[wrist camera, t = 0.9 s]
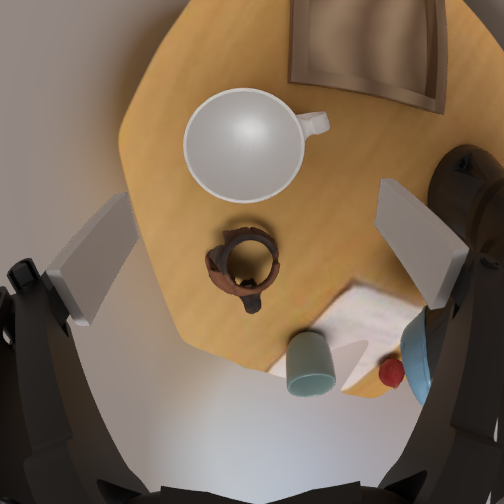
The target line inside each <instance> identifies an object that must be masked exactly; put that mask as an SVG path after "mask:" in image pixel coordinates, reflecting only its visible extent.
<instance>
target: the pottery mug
mask: <svg viewBox="0 0 504 504" xmlns="http://www.w3.org/2000/svg"><path fill="white" fill-rule="evenodd" d="M223 234H224V239H225V245H219V246H216V247H215V248H214V249H211V250H210V253H209V254H207V255H206V257H205V263H206V266H207V269H208V271H209V277H210V278H211V280H212V282H213V283H214V284H215V285H216V286H217V287H219V288H220V289H221V290H223V291H224V292H226V293H228V294H234V295H235V296H238V297H239V298H240V299H241V300H242V302H243V304H244V307H245V310H246V312H247V313H249V314H254V313H256V312H258V311H259V310H260V309H261V299H260V295H261V292H262V291H263V290H265V289H266V288H268V287H269V286H270V285H271V284H272V283H273V282H274V280H275V279H276V277H277V275H278V273H279V268H280V263H279V262H278V256H279V253H278V248H277V245H276V243H275V241H274V239H273V238H272V237H271V236H270V235H268V234H267V233H266V232H264V231H262V230H260V229H257V228H255V227H251V228H250V229H249V228H248V227H243V228H239V229H236V230H230V231H223ZM247 240H254V241H258V242H261V243H263V244H264V245H265V246H266V247H267V248H268V249H269V251H270V252H271V254H272V257H273V263H272V268H271V271H270V274H269V275H268V277H267V278H266V279H265V280H264V281H263V282H262V283H260V284H259V285H257V283H256V282H255V280H254V279H253V278H252V279H248V280H243V281H242V283H240V285H238V284H237V283H236V281H235V277H234V276H230V275H229V273H228V270H227V260H228V257H229V254H230V252H231V251H232V249H233V248H234V247H235V246H236V245H238V244H240V243H241V242H243V241H247ZM210 258H211V259H212V260H213V262H214V264H215V265H216V266H217V267H218V268H219V270H220V271H216V270H215V269H214V268H213V266H212V264H211V261H210Z"/></svg>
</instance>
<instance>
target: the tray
mask: <svg viewBox="0 0 504 504" xmlns="http://www.w3.org/2000/svg"><path fill="white" fill-rule="evenodd" d="M447 61H448V45H447V22H446V10H445V1H444V0H290V36H289V64H288V83H289V84H300V85H310V86H318V87H325V88H332V89H338V90H344V91H350V92H355V93H360V94H365V95H370V96H375V97H379V98H383V99H387V100H391V101H395V102H399V103H402V104H406V105H409V106H413V107H416V108H419V109H423V110H426V111H429V112H434V113H438V114H442V115H444V109H445V99H446V86H447Z"/></svg>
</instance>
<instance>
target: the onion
mask: <svg viewBox="0 0 504 504" xmlns="http://www.w3.org/2000/svg"><path fill="white" fill-rule="evenodd" d="M404 375H405V371H404V367H403V364H402V362H401V361H399V360H397V359H390V358H387V359H386V360H385V361H384V363H383V364H382V365H381V367H380V369H379V378H380V380H381V381H382V383H383V384H385V385H387V386H389V387H393V388H394V389H397V387H398V386H399V384H400V383H401V382H402V380H403V378H404Z"/></svg>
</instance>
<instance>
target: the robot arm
mask: <svg viewBox="0 0 504 504" xmlns="http://www.w3.org/2000/svg"><path fill="white" fill-rule="evenodd" d="M374 225H375V227H376V228H377V229H378V231H379V232H380V233H381V235H382V236H383V237H384V239H385V240H386V242H387V243H388V244H389V246H390V247H391V249H392V250H393V252H394V253H395V255H396V256H397V257H398V259H399V260H400V262H401V263H402V265H403V266H404V268H405V269H406V271H407V272H408V274H409V276H410V277H411V279H412V280H413V282H414V283H415V285H416V287H417V288H418V290H419V292H420V293H421V295H422V296H423V298H424V300H425V302H426V303H427V306H425V307H424V308H423V309H422V312H421V313H420V314H419V315H418V316H417V317H416V318H415V319H414V320H413V321H412V322H410V323H409V324H408V325H407V327H406V328H405V329H404V331H403V334H402V337H401V344H400V348H401V358H402V363H403V367H404V371H405V374H406V377H407V380H408V382H409V385H410V387H411V389H412V391H413V393H414V395H415V397H416V398H417V400H418V401H419V403H420V404H421V405H423V409H422V411H421V414H420V416H419V418H418V421H417V423H416V426H415V428H414V430H413V432H412V434H411V437H410V439H409V441H408V443H407V445H406V447H405V449H404V451H403V453H402V455H401V456H400V458H399V459H398V461H397V462H396V463H395V464H394V466H393V467H392V468H391V469H390V470H389V471H388V472H387V474H386V475H385V477H384V478H383V480H382V481H381V483H380V484H379V486H378V487H377V488H376V487H366V486H361V485H360V481H357V482H353V483H348V484H343V485H339V486H333V487H327V488H320V489H313V490H310V491H307V492H304V493H301V494H298V495H295V496H292V497H288V498H285V499H282V500H278V501H275V502H270V503H267V504H486V502H487V499H488V496H489V494H490V492H491V499H490V501H491V502H490V504H504V168H503V167H502V166H501V165H500V163H499V162H498V161H497V160H496V159H495V158H494V157H493V156H492V155H491V154H490V153H488V152H487V151H485V150H483V149H481V148H479V147H476V146H473V145H463V146H460V147H457V148H455V149H454V150H452V151H451V152H450V153H448V154H447V155H446V156H445V157H444V158H443V160H442V161H441V162H440V164H439V165H438V167H437V169H436V171H435V173H434V175H433V178H432V181H431V184H430V188H429V194H428V207H427V206H425V205H424V204H423V203H422V202H421V201H420V200H419V199H418V198H416V197H415V196H414V195H413V194H412V193H410V192H409V191H408V190H407V189H406V188H404V187H403V186H402V185H401V184H400V183H398V182H397V181H396V180H395V179H391V178H381V183H380V190H379V198H378V205H377V211H376V218H375V224H374ZM138 239H139V235H138V231H137V228H136V225H135V221H134V217H133V213H132V210H131V206H130V202H129V198H128V194H127V192H125V193H119V194H115V195H114V196H113V197H112V198H110V199H109V200H108V201H107V202H106V203H105V204H104V205H103V206H102V207H101V208H100V209H99V211H97V212H96V213H95V214H94V215H93V216H92V217H91V219H90V220H89V221H88V222H87V223H86V224H85V225H84V226H83V227H82V228H81V229H80V230H79V231H78V233H77V234H76V235H75V236H74V237H73V238H72V239H71V240H70V241H69V243H68V244H67V245H66V246H65V247H64V249H62V251H61V252H60V253H59V254H58V255H57V257H56V258H55V259H54V260H53V261H52V263H51V264H50V265H49V267H48V268H47V269H46V270H45V272H44V273H43V274H42V276H40V275H39V273H38V271H37V269H36V267H35V265H34V263H33V261H32V259H31V258H26V259H23V260H21V261H19V262H18V263H16V264H15V265H14V266H13V267H12V268H11V269H10V270H9V271H8V274H7V277H8V279H9V281H10V283H11V284H12V286H13V288H14V289H15V291H16V294H13V295H10V294H9V292H8V291H7V289H6V287H4V286H2V287H0V504H252V503H247V502H243V501H238V500H234V499H230V498H227V497H223V496H219V495H216V494H212V493H209V492H202V491H192V490H184V489H178V488H171V487H166V486H161V491H158V492H152V493H150V492H149V491H148V489H147V488H146V487H145V485H144V484H143V482H142V481H141V480H140V479H139V478H138V477H137V476H136V475H135V474H134V473H133V472H132V471H131V470H130V469H129V468H128V466H127V465H126V463H125V462H124V460H123V458H122V456H121V455H120V453H119V451H118V449H117V447H116V445H115V444H114V442H113V440H112V438H111V436H110V434H109V432H108V430H107V428H106V425H105V423H104V421H103V419H102V417H101V414H100V412H99V410H98V408H97V405H96V403H95V400H94V398H93V396H92V393H91V391H90V388H89V385H88V383H87V380H86V377H85V374H84V371H83V368H82V366H81V362H80V359H79V356H78V353H77V350H76V347H75V343H74V340H73V336H72V332H71V328H70V326H69V324H68V323H67V321H66V320H67V318H68V316H69V314H70V315H71V317H72V319H73V320H74V322H75V323H76V325H85V326H90V325H91V323H92V321H93V319H94V317H95V315H96V313H97V311H98V309H99V307H100V305H101V303H102V301H103V299H104V298H105V296H106V294H107V292H108V290H109V288H110V287H111V285H112V283H113V281H114V279H115V277H116V275H117V274H118V272H119V270H120V269H121V267H122V265H123V263H124V262H125V260H126V258H127V257H128V255H129V253H130V252H131V250H132V248H133V247H134V245H135V243H136V242H137V240H138ZM3 331H4V332H5V334H6V335H7V336H8V337H9V339H10V343H9V344H8V343H7V342H6V341H5V339H4V338H3Z"/></svg>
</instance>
